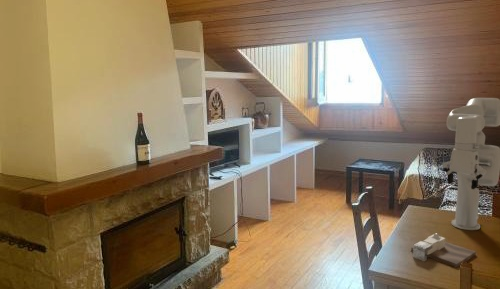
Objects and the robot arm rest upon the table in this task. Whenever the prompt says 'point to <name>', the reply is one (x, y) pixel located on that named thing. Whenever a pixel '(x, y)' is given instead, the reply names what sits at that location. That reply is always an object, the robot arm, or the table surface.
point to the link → (435, 243)
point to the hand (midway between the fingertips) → (461, 185)
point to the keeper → (421, 250)
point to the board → (452, 254)
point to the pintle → (436, 236)
